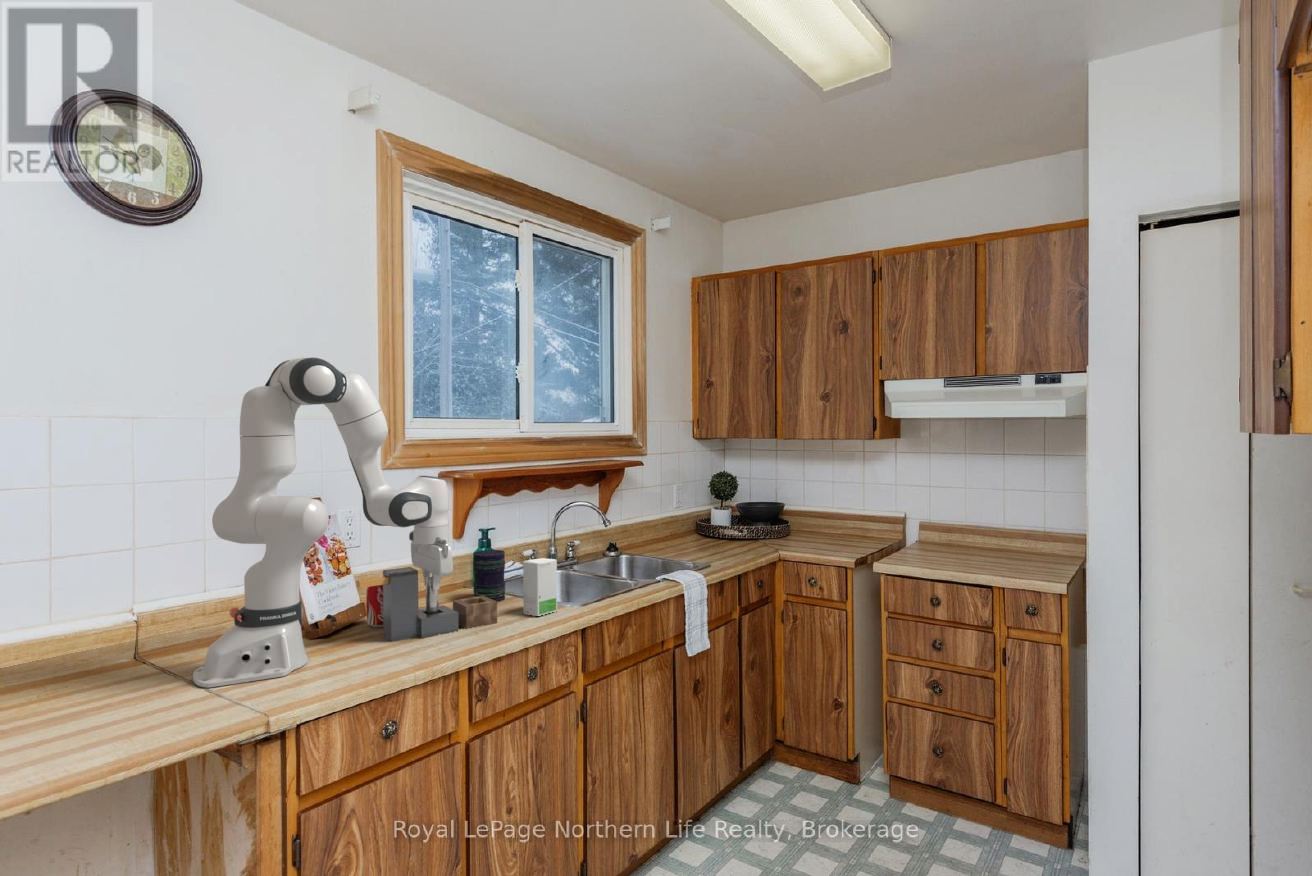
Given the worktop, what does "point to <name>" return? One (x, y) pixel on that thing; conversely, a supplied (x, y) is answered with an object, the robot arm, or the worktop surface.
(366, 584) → the bar
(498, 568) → the storage jar
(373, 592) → the soda can
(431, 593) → the silver metal rod
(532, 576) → the skincare box
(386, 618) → the socket block
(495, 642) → the worktop surface
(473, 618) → the brown wooden square holder
